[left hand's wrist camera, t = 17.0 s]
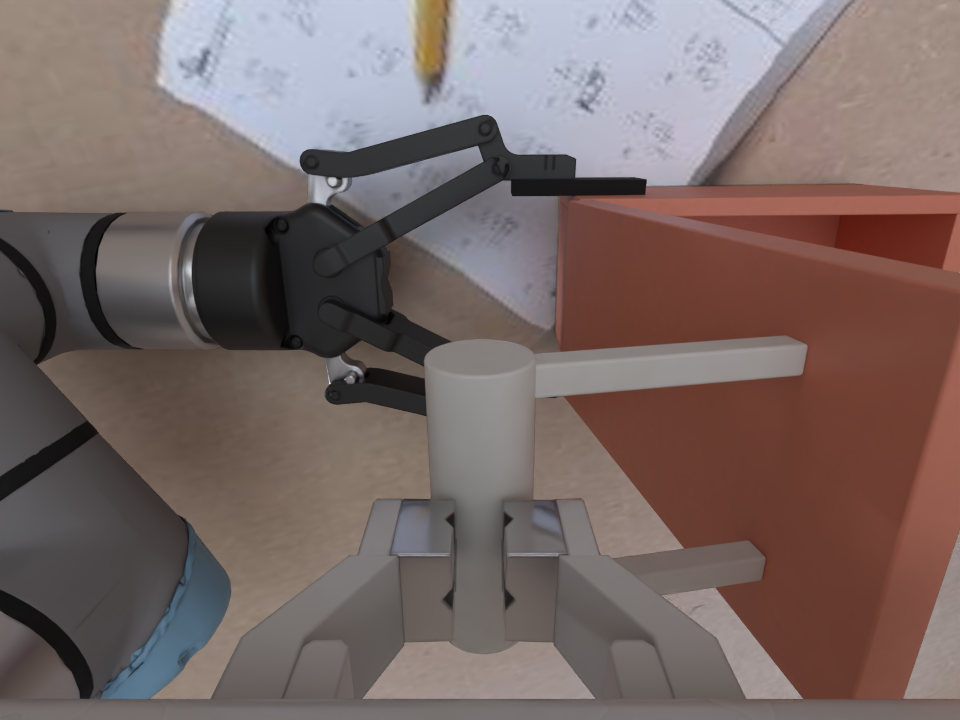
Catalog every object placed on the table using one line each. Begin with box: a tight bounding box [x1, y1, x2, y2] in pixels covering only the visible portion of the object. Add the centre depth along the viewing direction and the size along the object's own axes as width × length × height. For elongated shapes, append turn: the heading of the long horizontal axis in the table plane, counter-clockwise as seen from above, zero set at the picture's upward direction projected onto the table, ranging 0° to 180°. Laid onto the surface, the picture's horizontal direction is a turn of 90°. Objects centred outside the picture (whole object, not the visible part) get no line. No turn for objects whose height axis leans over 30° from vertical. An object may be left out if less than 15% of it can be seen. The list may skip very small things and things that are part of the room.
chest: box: [554, 184, 960, 352], centre depth 31 cm, size 18×9×10 cm, turn 91°
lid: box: [424, 200, 960, 699], centre depth 17 cm, size 18×9×9 cm
